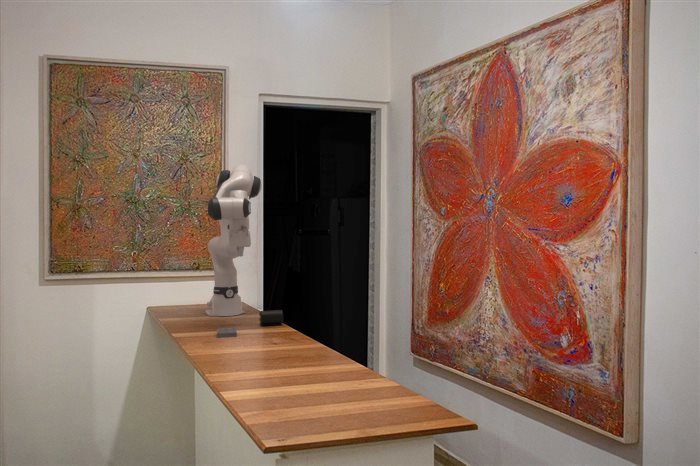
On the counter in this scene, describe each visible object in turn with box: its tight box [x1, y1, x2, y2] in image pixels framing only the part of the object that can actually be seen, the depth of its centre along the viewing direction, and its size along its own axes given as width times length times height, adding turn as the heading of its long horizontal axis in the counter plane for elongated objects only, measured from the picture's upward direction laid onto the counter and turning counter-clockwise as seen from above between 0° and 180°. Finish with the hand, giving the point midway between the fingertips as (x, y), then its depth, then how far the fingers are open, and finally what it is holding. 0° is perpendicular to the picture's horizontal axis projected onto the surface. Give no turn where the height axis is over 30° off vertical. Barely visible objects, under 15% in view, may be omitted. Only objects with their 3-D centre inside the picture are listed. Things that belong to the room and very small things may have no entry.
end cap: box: [258, 309, 284, 327], centre depth 332 cm, size 10×7×7 cm
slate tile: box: [216, 327, 238, 339], centre depth 308 cm, size 2×8×12 cm
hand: (240, 256), depth 334 cm, fingers closed
